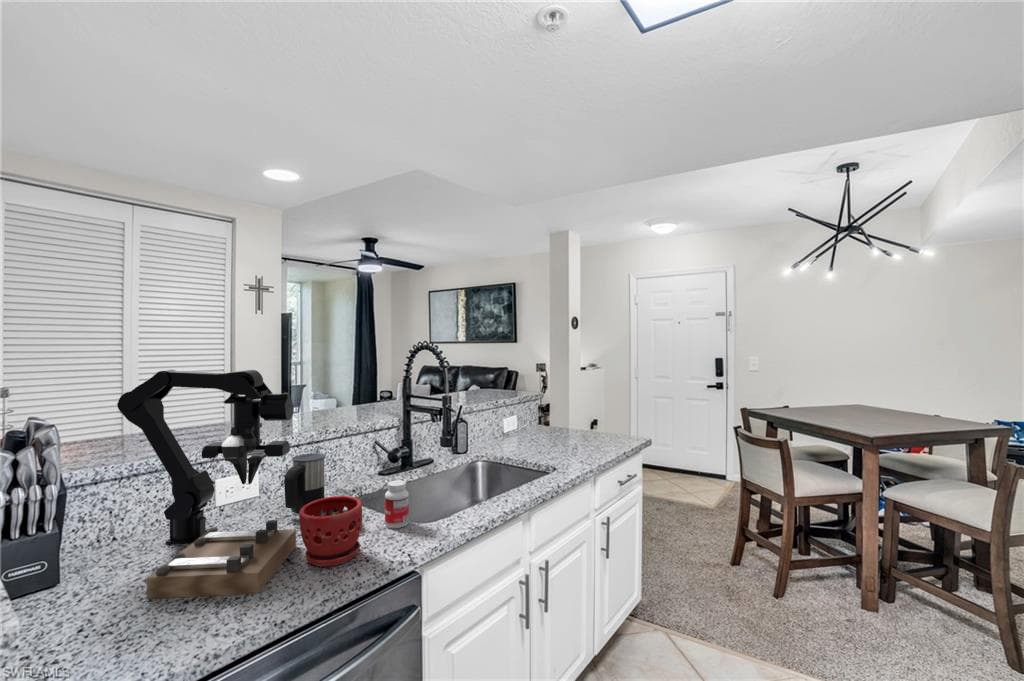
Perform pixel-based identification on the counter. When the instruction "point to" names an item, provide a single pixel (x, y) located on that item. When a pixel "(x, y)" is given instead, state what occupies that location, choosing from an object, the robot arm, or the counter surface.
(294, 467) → the milk frother
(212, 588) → the block
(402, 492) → the pill bottle
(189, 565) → the strap
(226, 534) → the strap
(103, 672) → the counter surface
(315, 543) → the plant pot
